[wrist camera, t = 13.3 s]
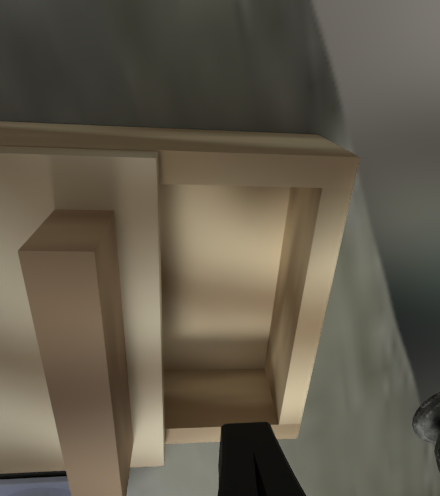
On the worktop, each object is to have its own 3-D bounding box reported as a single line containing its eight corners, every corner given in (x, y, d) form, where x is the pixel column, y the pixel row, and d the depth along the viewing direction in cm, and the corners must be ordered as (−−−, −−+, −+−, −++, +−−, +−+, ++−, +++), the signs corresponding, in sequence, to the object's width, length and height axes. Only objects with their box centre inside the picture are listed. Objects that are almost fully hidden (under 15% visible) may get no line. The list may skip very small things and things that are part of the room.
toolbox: (277, 373, 21) (297, 438, 17) (-155, 383, 18) (-237, 460, 15) (317, 134, 15) (359, 157, 11) (-310, 108, 13) (-505, 126, 9)
